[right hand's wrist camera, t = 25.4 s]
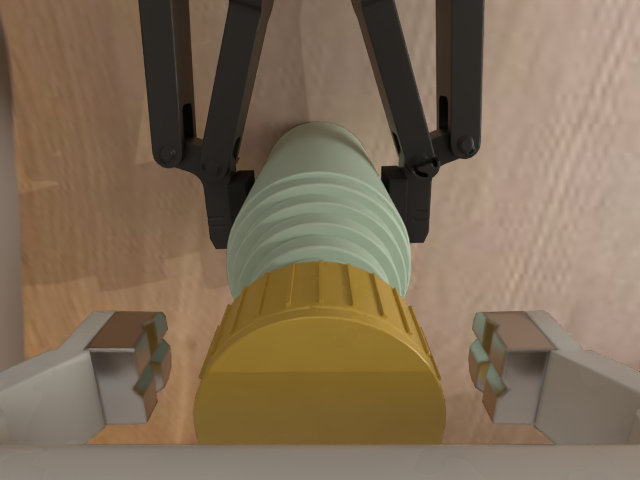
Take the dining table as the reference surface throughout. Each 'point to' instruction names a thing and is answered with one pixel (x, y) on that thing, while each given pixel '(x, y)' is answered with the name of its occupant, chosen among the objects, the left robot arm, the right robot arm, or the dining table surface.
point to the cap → (319, 364)
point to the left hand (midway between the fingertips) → (321, 303)
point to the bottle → (318, 211)
